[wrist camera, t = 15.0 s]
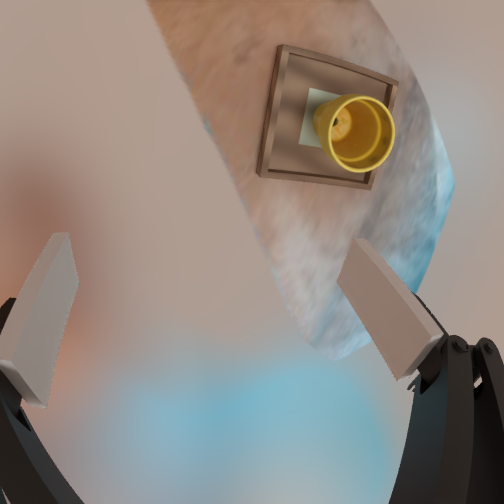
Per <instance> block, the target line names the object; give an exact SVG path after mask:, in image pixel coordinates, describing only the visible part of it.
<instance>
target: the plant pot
mask: <svg viewBox="0 0 504 504" xmlns="http://www.w3.org/2000/svg"><path fill="white" fill-rule="evenodd" d="M335 119H336V123H335V124H334V125H333V123H334V120H335ZM312 123H313V128H314V131H315V133H316V134H317V136H318V137H319V140H320V144H321V146H322V148H323V150H324V152H325V153H326V154H327V156H328V157H329V158H330V159H332V160H333V161H334V162H335V163H337V164H338V165H339V166H341V167H342V168H344V169H346V170H348V171H351V172H356V173H362V172H367V171H370V170H373V169H375V168H376V167H378V166H379V165H380V164H382V163H383V161H384V160H385V159H386V158H387V157H388V155H389V153H390V151H391V149H392V146H393V143H394V138H395V127H394V122H393V119H392V116H391V114H390V112H389V110H388V109H387V108H386V106H385V105H384V104H383V103H381V102H380V101H379V100H377V99H375V98H373V97H370V96H366V95H360V94H346V95H342V96H340V97H338V98H336V99H334V100H333V101H328V102H325V103H323V104H321V105H320V106H319V107H318V108H317V109H316V111H315V112H314V115H313V120H312Z"/></svg>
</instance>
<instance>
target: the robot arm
mask: <svg viewBox="0 0 504 504" xmlns="http://www.w3.org/2000/svg"><path fill="white" fill-rule="evenodd" d="M337 283H338V285H339V286H340V288H341V290H342V291H343V293H344V294H345V296H346V297H347V299H348V301H349V302H350V304H351V305H352V307H353V308H354V310H355V312H356V313H357V315H358V317H359V318H360V320H361V321H362V323H363V325H364V326H365V328H366V330H367V331H368V333H369V335H370V336H371V338H372V340H373V341H374V343H375V345H376V346H377V348H378V350H379V351H380V353H381V354H382V356H383V358H384V360H385V362H386V363H387V365H388V367H389V368H390V370H391V372H392V374H393V375H394V377H395V379H396V381H400V380H403V379H406V378H409V377H410V376H411V375H412V374H413V372H414V371H415V370H416V369H418V371H419V372H420V374H419V375H418V376H417V377H416V378H415V379H414V380H413V381H412V383H411V384H410V385H409V386H408V389H407V390H410V389H411V388H412V386H413V385H415V388H414V389H413V390H412V391H413V392H414V398H413V405H412V411H411V417H410V423H409V428H408V433H407V438H406V443H405V447H404V451H403V455H402V460H401V464H400V467H399V471H398V475H397V478H396V482H395V485H394V488H393V492H392V495H391V498H390V501H389V504H504V364H503V361H502V359H501V356H500V353H499V351H498V349H497V347H496V345H495V344H494V342H493V341H492V340H490V339H488V338H481V339H480V340H479V341H478V343H477V344H476V345H468V344H467V342H466V341H465V340H464V339H462V338H461V337H459V336H457V335H450V336H449V335H448V333H447V332H446V331H445V330H444V328H443V327H442V326H441V324H440V323H439V322H438V321H437V319H436V318H435V316H434V315H433V314H431V311H430V310H429V309H428V308H427V307H426V305H425V304H424V303H423V301H422V300H421V299H420V298H419V297H418V296H417V295H415V294H414V293H413V292H412V291H410V290H409V288H408V287H407V286H406V285H405V284H404V282H403V281H402V280H401V279H400V278H399V277H398V275H397V274H396V273H395V272H394V271H393V270H392V268H391V267H390V266H389V265H388V264H387V263H386V261H385V260H384V259H383V258H382V257H381V256H380V255H379V254H378V252H377V251H376V250H375V249H374V248H373V247H372V246H371V245H370V244H369V242H368V241H367V240H366V239H362V238H353V239H352V242H351V245H350V248H349V250H348V253H347V256H346V259H345V261H344V264H343V266H342V269H341V272H340V274H339V277H338V279H337ZM78 286H79V279H78V275H77V271H76V267H75V262H74V257H73V253H72V248H71V243H70V237H69V233H53V235H52V236H51V238H50V240H49V241H48V243H47V244H46V246H45V248H44V249H43V251H42V253H41V255H40V256H39V258H38V260H37V261H36V263H35V265H34V267H33V268H32V270H31V272H30V274H29V276H28V278H27V279H26V281H25V283H24V285H23V287H22V289H21V291H20V293H19V295H18V297H17V298H9V299H8V300H7V301H6V302H5V303H4V304H3V305H2V306H1V308H0V504H7V502H6V499H5V497H4V494H3V491H4V493H5V495H6V496H7V498H8V500H9V501H10V503H11V504H84V503H83V501H82V500H81V499H80V498H79V496H78V495H77V494H76V493H75V491H74V490H73V489H72V487H71V486H70V485H69V483H68V482H67V481H66V479H65V478H64V477H63V475H62V474H61V472H60V471H59V469H58V468H57V466H56V465H55V464H54V462H53V460H52V459H51V458H50V456H49V454H48V453H47V451H46V449H45V448H44V446H43V445H42V443H41V441H40V440H39V438H38V436H37V434H36V433H35V431H34V429H33V427H32V425H31V423H30V422H29V420H28V418H27V416H26V414H25V412H24V410H23V409H22V407H21V406H20V404H21V399H22V398H23V399H24V400H25V401H26V402H27V404H28V405H30V406H34V407H40V408H45V409H47V404H48V399H49V393H50V388H51V383H52V378H53V374H54V369H55V364H56V360H57V356H58V352H59V348H60V344H61V341H62V337H63V334H64V330H65V327H66V323H67V320H68V316H69V313H70V310H71V307H72V304H73V301H74V298H75V295H76V292H77V289H78ZM480 377H481V378H482V383H481V384H480V385H479V386H478V387H477V388H475V387H474V383H475V382H476V381H477V379H479V378H480ZM1 487H2V488H1ZM2 489H3V491H2Z"/></svg>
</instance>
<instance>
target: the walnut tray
mask: <svg viewBox="0 0 504 504" xmlns="http://www.w3.org/2000/svg"><path fill="white" fill-rule="evenodd" d="M398 83H399V81H396V80H394V79H392V78H389V77H387V76H384V75H382V74H379V73H377V72H374V71H372V70H369V69H366V68H364V67H361V66H358V65H355V64H352V63H349V62H346V61H343V60H340V59H337V58H334V57H330V56H327V55H324V54H320V53H316V52H313V51H309V50H305V49H301V48H297V47H293V46H288V45H284V44H283V45H279V46H278V49H277V55H276V61H275V66H274V72H273V78H272V84H271V89H270V95H269V101H268V107H267V112H266V118H265V124H264V130H263V136H262V142H261V148H260V154H259V160H258V165H257V171H256V173H257V174H258V175H259V177H260V178H271V179H282V180H292V181H302V182H311V183H320V184H328V185H336V186H344V187H351V188H358V189H365V190H371V188H372V184H373V181H374V178H375V174H376V171H377V168H378V167H376V168H375V169H373V170H370V171H367V172H362V173H356V172H351V171H348V170H346V169H344V168H342V167H341V166H339V165H338V164H337V163H335V162H334V161H333V160H332V159H330V158H329V157H328V156H327V154H326V153H325V152H324V150H323V148H322V146H321V144H320V140H319V137H318V136H317V134H316V133H315V131H314V128H313V123H312V120H313V115H314V112H315V111H316V109H317V108H318V107H319V106H320V105H321V104H323V103H325V102H328V101H333V100H334V99H336V98H338V97H340V96H342V95H346V94H360V95H366V96H370V97H373V98H375V99H377V100H379V101H380V102H381V103H383V104H384V105H385V106H386V108H387V109H388V110H389V112H390V114H391V115H392V110H393V106H394V102H395V97H396V92H397V88H398ZM335 123H336V119H335V120H334V123H333V125H334V124H335Z"/></svg>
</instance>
